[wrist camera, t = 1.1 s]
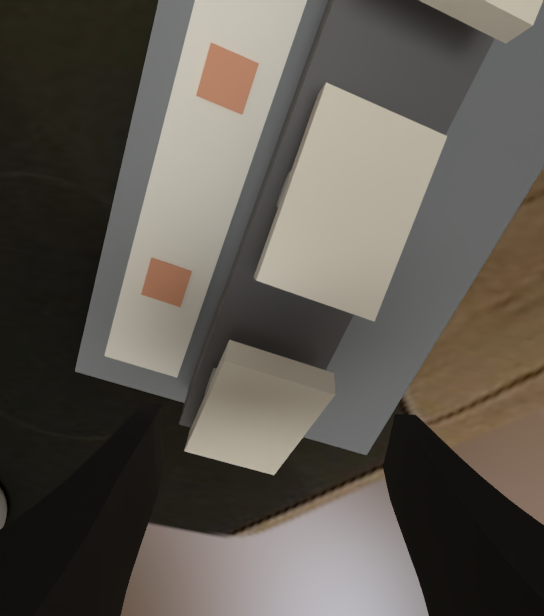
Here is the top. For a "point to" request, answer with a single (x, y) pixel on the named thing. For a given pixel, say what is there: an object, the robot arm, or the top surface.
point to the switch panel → (427, 254)
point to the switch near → (492, 15)
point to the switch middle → (348, 203)
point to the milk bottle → (2, 508)
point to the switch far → (258, 408)
